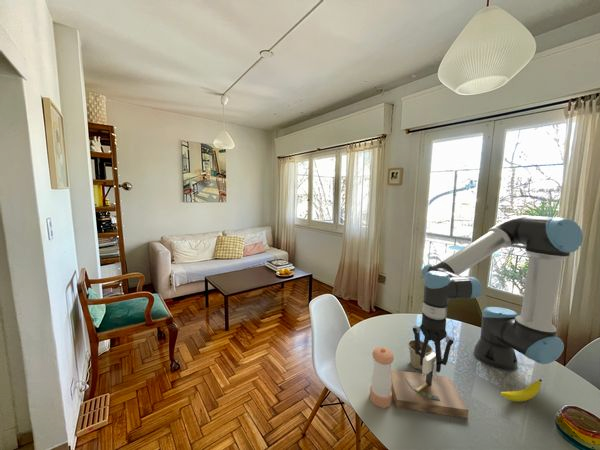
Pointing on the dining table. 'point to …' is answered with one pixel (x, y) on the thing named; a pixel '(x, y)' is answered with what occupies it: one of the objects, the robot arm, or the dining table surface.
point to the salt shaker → (381, 377)
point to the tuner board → (427, 394)
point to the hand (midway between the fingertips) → (429, 376)
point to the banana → (523, 392)
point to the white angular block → (428, 369)
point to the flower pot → (413, 356)
